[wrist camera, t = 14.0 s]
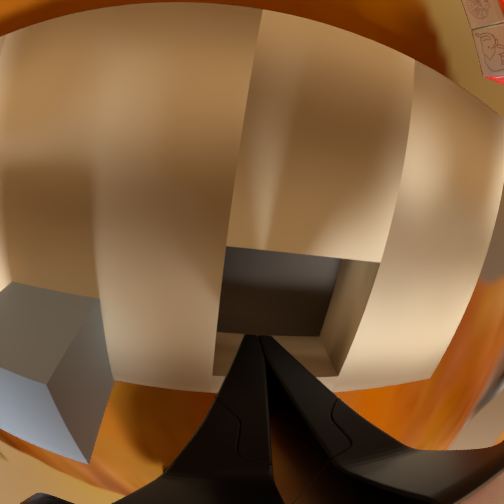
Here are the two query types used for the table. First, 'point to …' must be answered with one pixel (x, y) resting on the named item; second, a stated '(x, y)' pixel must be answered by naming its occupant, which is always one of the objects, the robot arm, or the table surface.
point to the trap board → (244, 190)
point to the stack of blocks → (488, 35)
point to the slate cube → (53, 369)
